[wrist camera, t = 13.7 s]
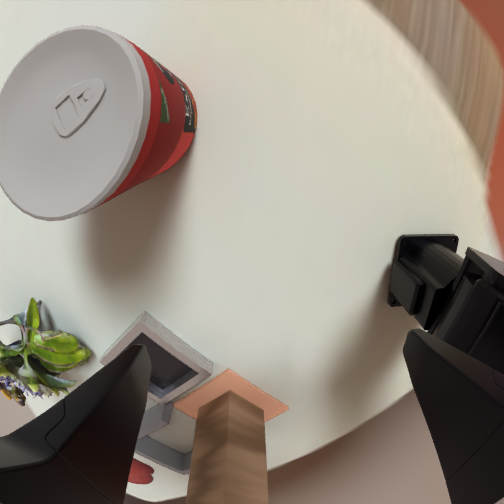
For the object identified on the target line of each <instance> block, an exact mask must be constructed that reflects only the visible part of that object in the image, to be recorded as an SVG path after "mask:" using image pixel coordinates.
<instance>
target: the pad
mask: <svg viewBox="0 0 504 504" xmlns="http://www.w3.org/2000/svg"><path fill="white" fill-rule="evenodd" d="M229 390H231V391H233V392H234V393H236V394H237V395H239V396H241V397H242V398H244V399H246V400H247V401H249V402H251V403H252V404H254V405H256V406H258V407H259V408H261V409H263V410H264V422H266V421H268V420H270V419H272V418H274V417H276V416H278V415H280V414H281V413H283V412H285V411H287V410H289V407H288V406H286V405H285V404H283V403H281V402H280V401H278V400H276V399H275V398H273V397H271V396H270V395H268V394H267V393H265V392H263V391H262V390H260V389H259V388H257V387H255V386H254V385H252V384H251V383H249V382H248V381H246V380H245V379H243V378H242V377H240V376H239V375H237V374H236V373H234V372H233V371H231V370H230V369H227V370H225V371H224V372H222V373H221V374H219V375H218V376H216V377H215V378H213V379H212V380H210V381H209V382H207V383H206V384H204V385H202V386H201V387H199V388H198V389H196V390H195V391H193V392H191V393H190V394H188V395H187V396H185V397H183V398H182V399H180V400H178V401H177V402H175V403H173V407H175V408H177V409H178V410H180V411H182V412H184V413H185V414H187V415H189V416H191V417H192V418H194V419H196V420H197V415H198V408H199V407H201V406H203V405H205V404H207V403H208V402H210V401H212V400H214V399H215V398H217V397H219V396H221V395H222V394H224V393H226V392H227V391H229Z"/></svg>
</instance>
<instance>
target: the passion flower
mask: <svg viewBox="0 0 504 504" xmlns="http://www.w3.org/2000/svg"><path fill="white" fill-rule="evenodd" d="M41 302H42V301H41V300H40V301H38V302H37V303H36V301H35V299H34V298H31V300H30V303H29V307H28V308H27V309H26V310H25V311H23V312H22V313H20V314H17V315H14V316H13V317H12V318H10V319H9V320H5V321H2V322H0V325H4V324H8V323H11V324H16V325H18V326H19V327H20V328H21V334H22V340H18V341H16V342H14V343H12V344H10V345H7V346H6V345H4V344H3V343H2V342H1V341H0V381H2V380H5V383H1V382H0V390H1V391H2V392H3V394H4V395H5V396H6V397H7V398H8V399H12V398H14V399H15V400H16V402H17V403H19V404H20V405H21V406H24V405H25V403H24V402H25V399H26V397H25V396H24V395H23V393H24V391H26V393H27V390H28V391H29V392H30V393H31V394H32V395H34V396H35V397H36V396H37V395H38V396H40V397H41V398H42V395H43V394H44V395H46V396H47V397H48V398H49V396H51V395H52V394H51V392H53V393H54V394H55V395H57V396H59V391H62V392H64V393H65V394H67V395H68V394H69V393H68V390H67V388H66V387H71V386H73V385H75V383H76V380H74V381H72V380H66V379H62V378H58V377H59V375H60V372H64V371H67V370H70V369H72V368H74V367H76V366H77V365H83V364H84V363H86V362H87V361H88V358H89V356H90V355H91V352H90V350H89V349H88V348H86V347H85V346H82V345H81V344H80V343H79V340H78V339H77V338H76V337H75V336H73V335H71V334H68V333H65V332H62V331H61V330H58V331H38V329H37V328H38V327H39V318H40V316H39V312H38V307H37V305H38V304H39V303H41ZM24 327H25V328H26V331H25V329H24ZM12 382H13V385H12V386H11V385H9V384H10V383H12ZM16 386H18V387H19V388H18V387H16ZM58 390H59V391H58ZM18 395H19V396H20V397H19V396H18ZM27 396H28V393H27ZM33 398H34V397H33ZM42 399H43V398H42Z"/></svg>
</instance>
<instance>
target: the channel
mask: <svg viewBox="0 0 504 504" xmlns="http://www.w3.org/2000/svg"><path fill="white" fill-rule="evenodd" d="M172 407H173V403H172V402H170V401H169V402H167V403H166V404H164V405H161V404H157V405H156V406H154V407H152V408H151V409H149V410H148V411H146V412H144V415H143V419H142V423H141V427H140V431H139V435H138V439H137V443H136V447H135V453H137V454H139V455H141V456H143V457H145V458H147V459H149V460H151V461H153V462H155V463H158V464H160V465H162V466H164V467H166V468H169V469H171V470H173V471H176V472H178V473H180V474H183V475H185V474H188V473H190V466H191V458H192V452H191V453H188V454H185V455H184V454H182V453H179V452H177V451H175V450H173V449H171V448H169V447H167V446H165V445H163V444H161V443H159V442H157V441H155V440H154V439H152V438H150V437H148V436H146V435H148V434H150V433H152V432H154V431H156V430H158V429H160V428H162V427H164V426H166V425H168V424H169V420H170V416H171V411H172Z"/></svg>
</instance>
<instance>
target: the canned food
mask: <svg viewBox="0 0 504 504" xmlns="http://www.w3.org/2000/svg"><path fill="white" fill-rule="evenodd" d="M196 126H197V109H196V103H195V100H194V98H193V95H192V93H191V91H190V90H189V88H188V87H187V86H186V84H185V83H183V82H182V81H181V80H180V79H179V78H178V77H176V76H175V75H174V74H173V73H171V72H170V71H169V70H168V69H166V68H165V67H164V66H163V65H161V64H160V63H159V62H157V61H156V60H155V59H153V58H152V57H151V56H150V55H148V54H147V53H146V52H144V51H143V50H142V49H140V48H139V47H137V46H136V45H135V44H133V43H132V42H130V41H128V40H127V39H125V38H124V37H122V36H121V35H119V34H117V33H114V32H112V31H109V30H106V29H103V28H101V27H97V26H85V25H82V26H76V27H70V28H66V29H63V30H61V31H58V32H56V33H53V34H51V35H50V36H48V37H46V38H45V39H43V40H42V41H40V42H39V43H37V44H36V45H35V46H34V47H33V48H32V49H31V50H29V51H28V52H27V53H26V54H25V55H24V56H23V57H22V59H21V60H20V61H19V62H18V64H17V65H16V66H15V67H14V69H13V70H12V72H11V73H10V75H9V77H8V78H7V80H6V82H5V84H4V86H3V88H2V90H1V93H0V185H1V187H2V189H3V191H4V193H5V194H6V195H7V197H8V198H9V199H10V200H11V202H12V203H13V204H14V205H15V206H16V207H18V208H19V209H20V210H21V211H22V212H24V213H26V214H28V215H30V216H32V217H34V218H36V219H41V220H46V221H58V220H65V219H68V218H72V217H75V216H78V215H80V214H84V213H86V212H88V211H90V210H91V209H93V208H95V207H98V206H99V205H101V204H103V203H105V202H107V201H108V200H110V199H112V198H114V197H116V196H118V195H119V194H121V193H123V192H125V191H127V190H129V189H131V188H132V187H134V186H136V185H138V184H140V183H142V182H144V181H146V180H148V179H150V178H152V177H154V176H156V175H158V174H160V173H162V172H164V171H166V170H167V169H169V168H170V167H171V166H173V165H174V164H175V163H176V162H177V161H178V160H179V159H180V158H181V157H182V156H183V155H184V153H185V152H186V150H187V149H188V147H189V146H190V144H191V141H192V139H193V137H194V134H195V130H196Z"/></svg>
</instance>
